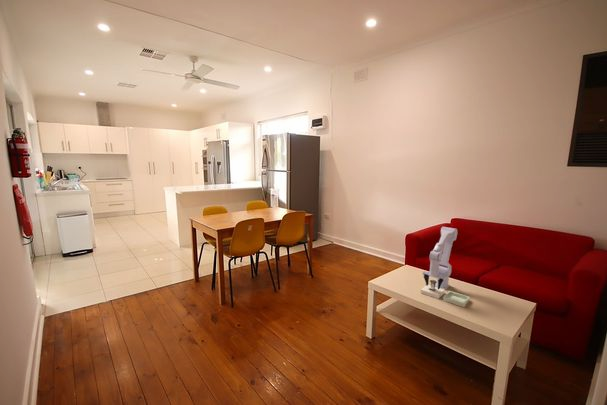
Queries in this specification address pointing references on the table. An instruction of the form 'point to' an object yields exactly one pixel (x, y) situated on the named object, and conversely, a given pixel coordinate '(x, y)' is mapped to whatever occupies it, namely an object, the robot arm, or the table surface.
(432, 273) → the robot arm
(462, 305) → the pin tray
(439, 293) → the lock block
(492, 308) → the table surface
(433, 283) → the lock pin
